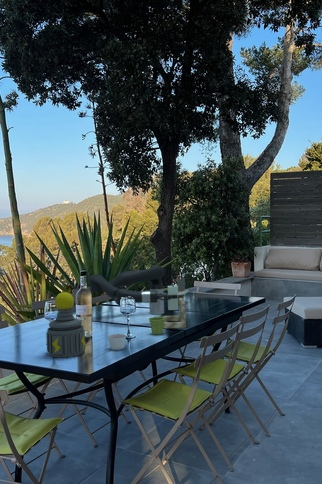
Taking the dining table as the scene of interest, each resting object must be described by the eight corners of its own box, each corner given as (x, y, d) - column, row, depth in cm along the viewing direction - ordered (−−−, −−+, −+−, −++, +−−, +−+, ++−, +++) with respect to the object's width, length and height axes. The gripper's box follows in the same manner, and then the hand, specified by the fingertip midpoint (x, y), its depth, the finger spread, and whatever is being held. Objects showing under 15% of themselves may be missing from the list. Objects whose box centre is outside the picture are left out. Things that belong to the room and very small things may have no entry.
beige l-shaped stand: (164, 328, 290) (163, 304, 290) (162, 320, 313) (161, 298, 313) (186, 327, 291) (185, 303, 290) (183, 320, 314) (182, 298, 313)
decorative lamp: (58, 347, 252) (56, 289, 251) (92, 349, 247) (90, 289, 246) (39, 357, 234) (36, 294, 233) (75, 359, 229) (72, 295, 228)
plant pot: (153, 336, 271) (153, 320, 270) (146, 333, 279) (145, 318, 279) (168, 334, 275) (168, 318, 275) (160, 331, 283) (160, 316, 283)
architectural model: (192, 309, 353) (192, 282, 352) (158, 309, 359) (157, 282, 358) (201, 301, 390) (200, 276, 389) (170, 300, 396) (169, 276, 395)
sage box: (168, 309, 299) (167, 284, 299) (168, 308, 304) (167, 283, 304) (178, 309, 299) (177, 284, 299) (177, 308, 304) (177, 283, 304)
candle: (126, 345, 252) (126, 333, 251) (125, 350, 243) (125, 337, 242) (108, 346, 251) (108, 334, 251) (107, 351, 242) (107, 338, 242)
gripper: (149, 292, 294) (177, 291, 294) (149, 289, 308) (176, 288, 309) (149, 304, 294) (178, 303, 295) (149, 301, 308) (176, 300, 309)
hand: (177, 295), depth 302 cm, fingers closed on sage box, 5 cm apart
